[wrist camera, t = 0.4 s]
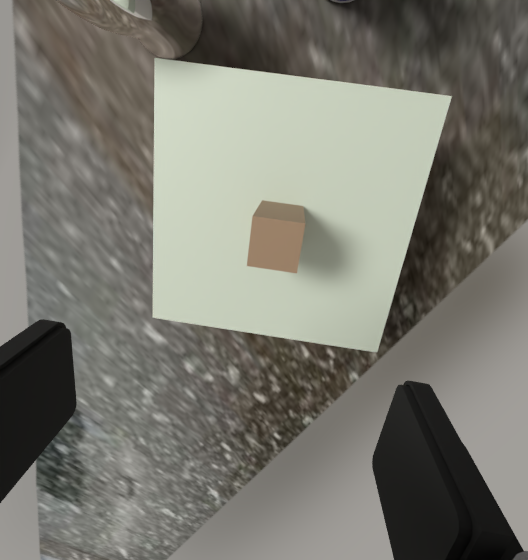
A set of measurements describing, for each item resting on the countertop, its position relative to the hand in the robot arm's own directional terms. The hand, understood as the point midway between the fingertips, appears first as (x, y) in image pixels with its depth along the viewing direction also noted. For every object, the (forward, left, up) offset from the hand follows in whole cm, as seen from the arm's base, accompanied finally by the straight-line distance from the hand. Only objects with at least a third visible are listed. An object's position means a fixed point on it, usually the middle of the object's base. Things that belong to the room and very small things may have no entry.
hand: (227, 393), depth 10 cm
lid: (-1, +1, -19) cm, 19 cm away
